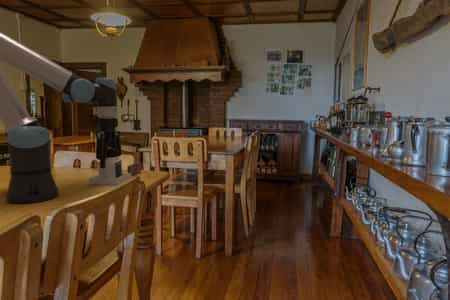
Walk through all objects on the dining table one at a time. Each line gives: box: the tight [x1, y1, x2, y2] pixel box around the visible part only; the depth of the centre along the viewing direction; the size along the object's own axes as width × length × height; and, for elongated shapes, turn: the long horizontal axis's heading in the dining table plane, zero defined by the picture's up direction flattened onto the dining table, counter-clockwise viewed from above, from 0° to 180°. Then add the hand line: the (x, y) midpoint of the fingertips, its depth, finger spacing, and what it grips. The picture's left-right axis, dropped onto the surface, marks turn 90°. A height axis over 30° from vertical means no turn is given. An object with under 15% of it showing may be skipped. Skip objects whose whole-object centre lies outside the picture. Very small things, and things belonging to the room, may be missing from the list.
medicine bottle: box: [97, 147, 123, 179], centre depth 132 cm, size 7×7×12 cm
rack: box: [127, 161, 142, 178], centre depth 146 cm, size 10×12×5 cm
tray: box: [88, 172, 132, 186], centre depth 133 cm, size 12×12×2 cm
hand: (110, 173), depth 133 cm, fingers closed on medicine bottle, 8 cm apart
